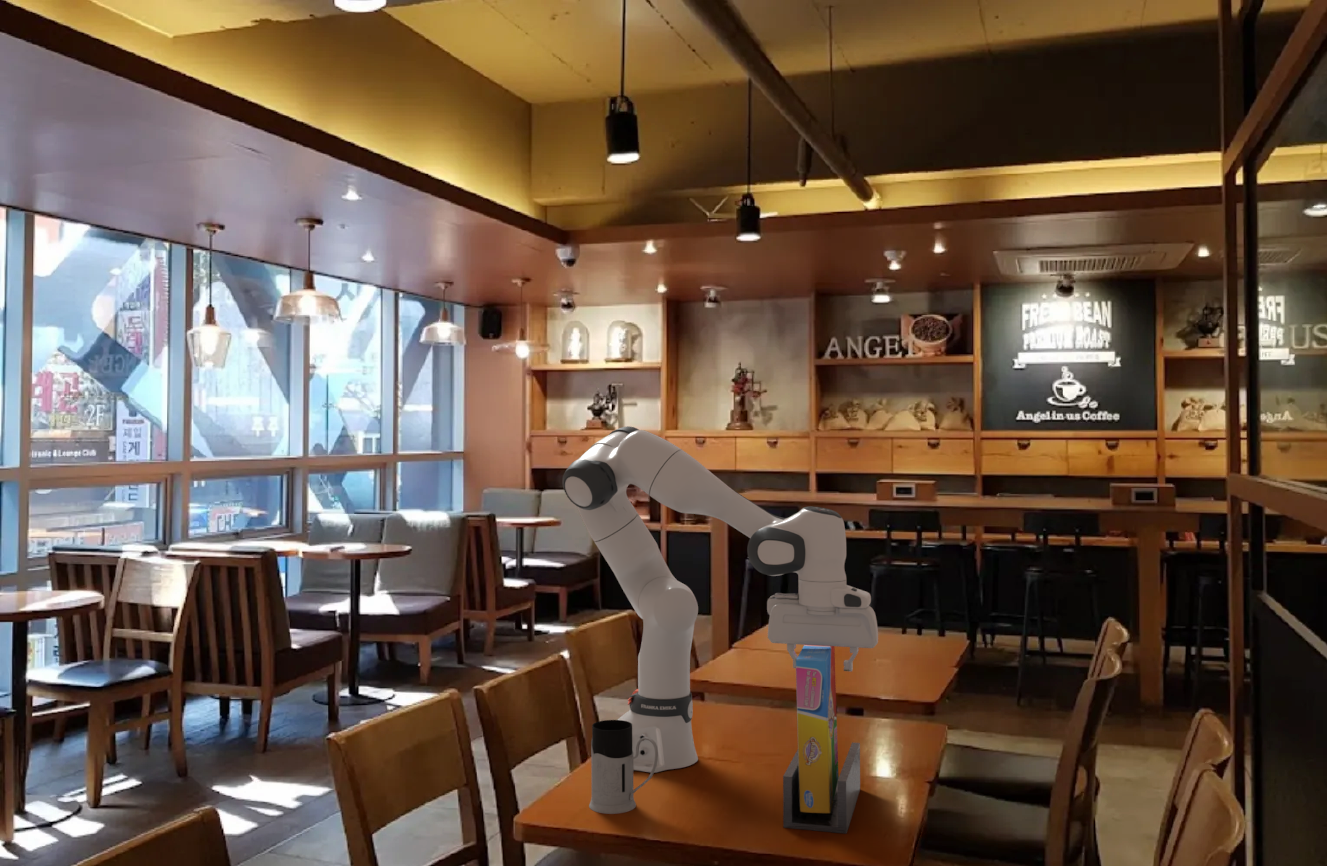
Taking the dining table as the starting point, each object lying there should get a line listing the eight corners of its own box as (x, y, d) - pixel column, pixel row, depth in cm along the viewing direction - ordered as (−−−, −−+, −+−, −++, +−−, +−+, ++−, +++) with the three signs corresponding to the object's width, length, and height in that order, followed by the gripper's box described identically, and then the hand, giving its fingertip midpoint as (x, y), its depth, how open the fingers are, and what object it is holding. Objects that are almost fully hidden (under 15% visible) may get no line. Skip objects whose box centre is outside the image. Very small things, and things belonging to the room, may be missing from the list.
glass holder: (606, 794, 203) (605, 716, 203) (669, 807, 195) (669, 726, 196) (579, 808, 195) (579, 727, 195) (644, 822, 188) (644, 738, 188)
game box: (830, 815, 185) (825, 659, 185) (799, 813, 186) (794, 659, 186) (838, 778, 205) (834, 638, 205) (810, 776, 206) (806, 637, 206)
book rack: (783, 827, 185) (783, 776, 185) (803, 784, 208) (803, 738, 208) (846, 833, 182) (846, 781, 182) (860, 789, 205) (859, 742, 205)
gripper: (763, 594, 195) (764, 669, 195) (876, 599, 190) (876, 676, 190) (770, 590, 201) (770, 662, 201) (878, 594, 196) (879, 668, 196)
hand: (822, 669), depth 195 cm, fingers open, 8 cm apart
